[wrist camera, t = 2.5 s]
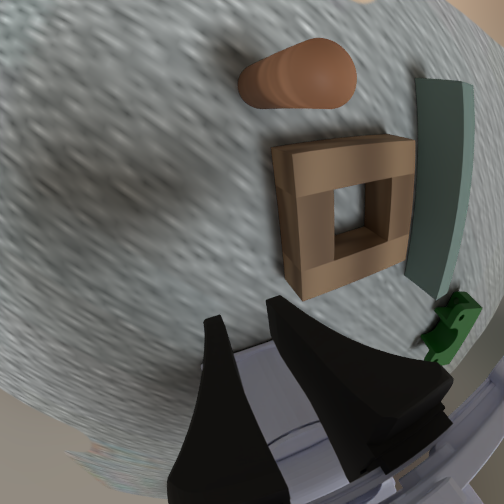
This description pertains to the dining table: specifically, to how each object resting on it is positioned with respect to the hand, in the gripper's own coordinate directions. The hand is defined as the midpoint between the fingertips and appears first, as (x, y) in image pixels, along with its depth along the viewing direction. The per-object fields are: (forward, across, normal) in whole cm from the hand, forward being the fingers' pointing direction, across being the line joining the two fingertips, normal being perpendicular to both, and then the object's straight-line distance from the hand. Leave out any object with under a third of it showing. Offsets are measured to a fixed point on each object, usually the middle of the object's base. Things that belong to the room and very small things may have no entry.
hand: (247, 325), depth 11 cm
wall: (+8, -20, 0) cm, 22 cm away
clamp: (+9, -30, +23) cm, 39 cm away
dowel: (+8, -5, -9) cm, 13 cm away
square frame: (+8, -10, 0) cm, 13 cm away
